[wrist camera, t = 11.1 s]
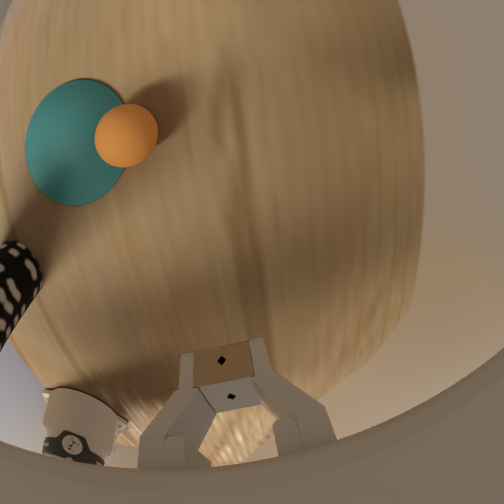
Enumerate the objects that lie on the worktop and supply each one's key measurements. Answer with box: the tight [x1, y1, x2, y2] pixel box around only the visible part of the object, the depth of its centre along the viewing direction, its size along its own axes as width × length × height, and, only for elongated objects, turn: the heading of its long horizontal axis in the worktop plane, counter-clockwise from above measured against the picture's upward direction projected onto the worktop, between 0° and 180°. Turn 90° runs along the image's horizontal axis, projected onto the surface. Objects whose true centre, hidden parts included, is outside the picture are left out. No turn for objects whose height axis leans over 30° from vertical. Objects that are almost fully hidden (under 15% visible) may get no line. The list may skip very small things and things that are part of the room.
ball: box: [95, 104, 158, 168], centre depth 20 cm, size 6×6×6 cm
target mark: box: [25, 80, 124, 205], centre depth 21 cm, size 13×13×1 cm
